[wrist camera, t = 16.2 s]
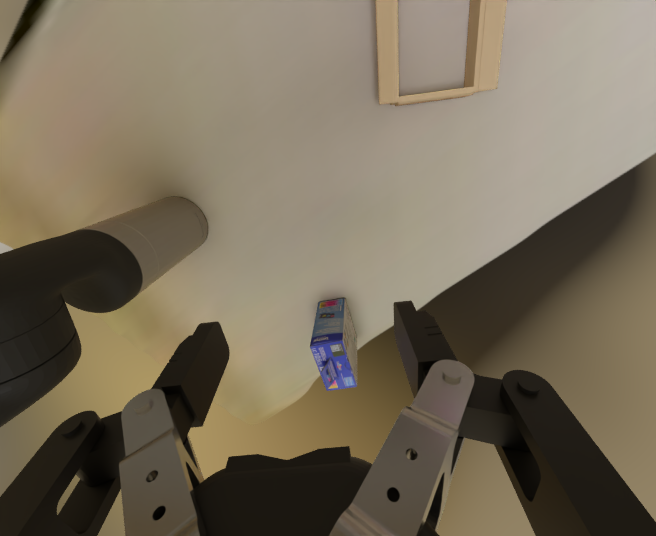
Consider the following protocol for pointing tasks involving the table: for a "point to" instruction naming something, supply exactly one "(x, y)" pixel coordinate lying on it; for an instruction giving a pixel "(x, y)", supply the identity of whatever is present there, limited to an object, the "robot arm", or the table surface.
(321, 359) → the ink cartridge box
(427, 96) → the light wooden frame
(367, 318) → the table surface
